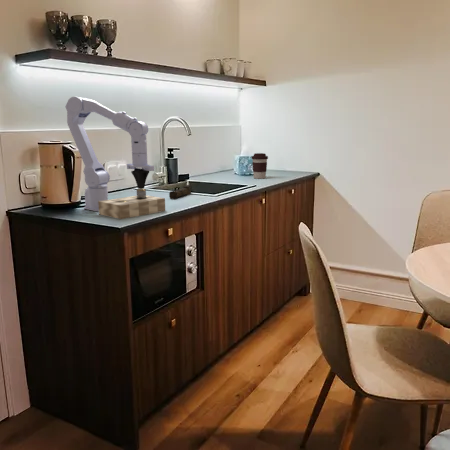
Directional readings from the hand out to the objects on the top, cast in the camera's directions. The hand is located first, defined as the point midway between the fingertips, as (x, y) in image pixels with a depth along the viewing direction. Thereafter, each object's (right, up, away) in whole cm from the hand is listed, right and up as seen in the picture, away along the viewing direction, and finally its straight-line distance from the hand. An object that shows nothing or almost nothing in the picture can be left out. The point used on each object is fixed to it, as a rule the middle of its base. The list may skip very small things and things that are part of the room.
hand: (141, 188), depth 183 cm
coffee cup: (+54, +14, +105) cm, 118 cm away
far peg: (0, -5, +1) cm, 5 cm away
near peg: (-6, -10, -5) cm, 12 cm away
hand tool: (+12, -1, +39) cm, 41 cm away
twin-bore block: (-3, -9, -1) cm, 10 cm away
